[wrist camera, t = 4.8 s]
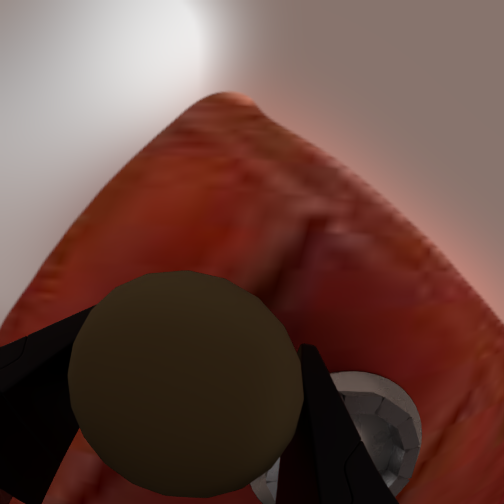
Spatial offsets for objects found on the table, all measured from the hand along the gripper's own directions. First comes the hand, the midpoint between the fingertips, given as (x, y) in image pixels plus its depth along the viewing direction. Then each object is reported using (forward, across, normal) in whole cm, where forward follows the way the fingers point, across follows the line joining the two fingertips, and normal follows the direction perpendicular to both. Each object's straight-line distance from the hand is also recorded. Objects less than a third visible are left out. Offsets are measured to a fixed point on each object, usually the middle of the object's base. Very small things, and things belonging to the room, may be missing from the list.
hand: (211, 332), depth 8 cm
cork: (+4, 0, +6) cm, 7 cm away
